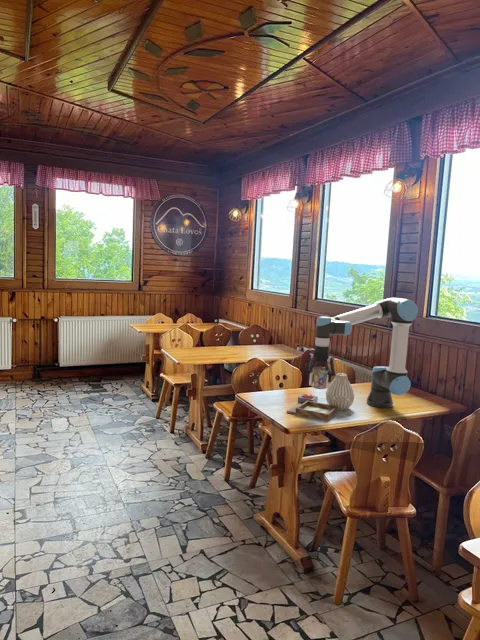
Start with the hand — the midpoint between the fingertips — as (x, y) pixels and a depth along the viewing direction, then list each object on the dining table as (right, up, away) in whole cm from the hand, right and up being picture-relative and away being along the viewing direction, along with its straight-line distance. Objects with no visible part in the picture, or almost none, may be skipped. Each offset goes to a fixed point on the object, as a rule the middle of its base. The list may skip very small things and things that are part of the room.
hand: (318, 386), depth 253 cm
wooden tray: (-3, -15, +3) cm, 16 cm away
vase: (+14, -15, +15) cm, 25 cm away
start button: (-3, -12, +20) cm, 24 cm away
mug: (-1, -1, +1) cm, 1 cm away
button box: (-3, -13, +20) cm, 24 cm away
